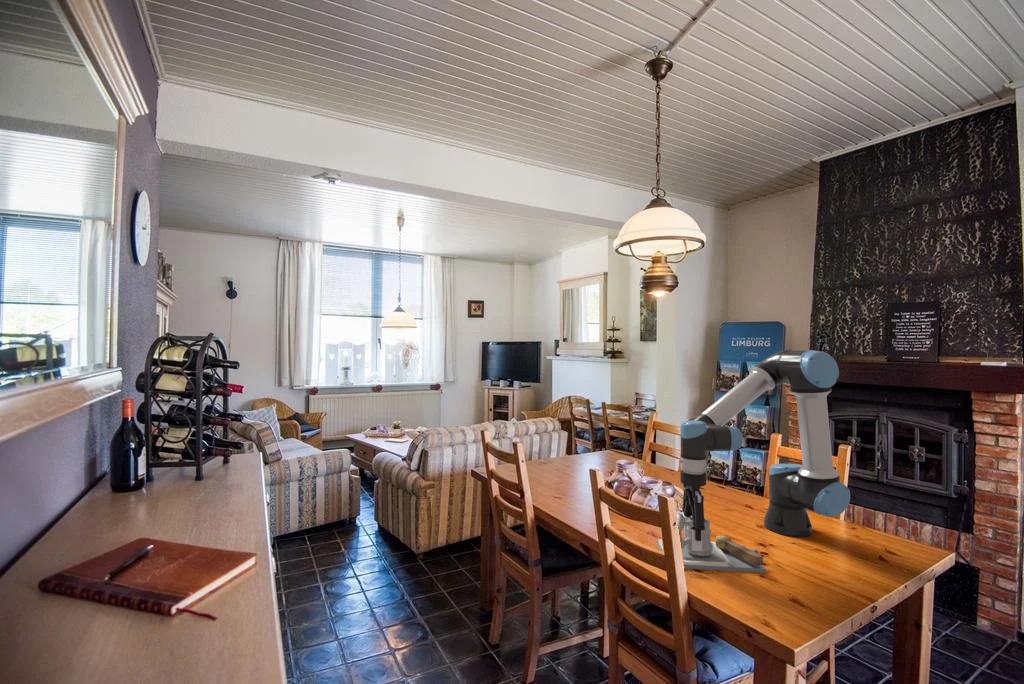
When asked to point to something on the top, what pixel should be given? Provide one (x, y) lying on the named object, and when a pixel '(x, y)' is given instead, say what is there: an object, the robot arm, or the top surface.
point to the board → (717, 560)
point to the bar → (739, 550)
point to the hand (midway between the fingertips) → (692, 543)
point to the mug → (688, 542)
